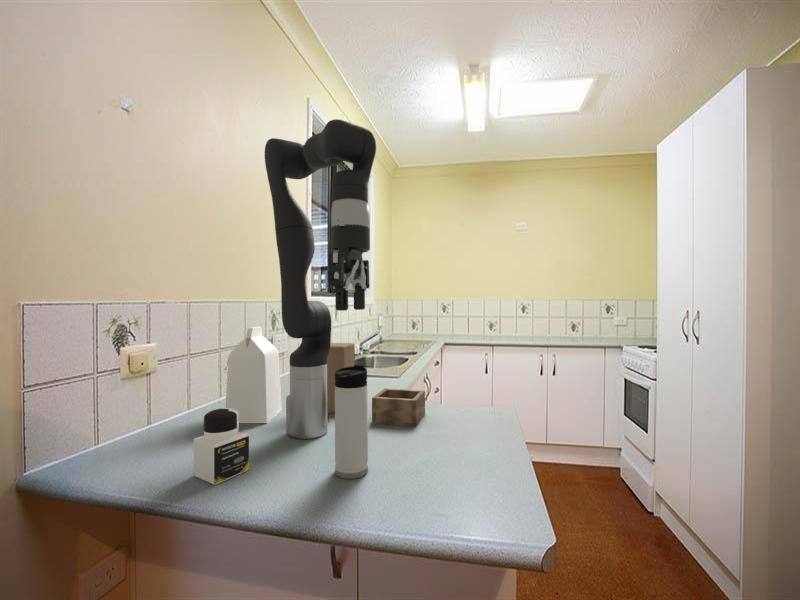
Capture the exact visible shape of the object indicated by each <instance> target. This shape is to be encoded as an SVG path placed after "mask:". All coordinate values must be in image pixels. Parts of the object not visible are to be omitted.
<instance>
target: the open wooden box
mask: <svg viewBox="0 0 800 600" xmlns="http://www.w3.org/2000/svg"><path fill="white" fill-rule="evenodd" d="M424 414H425V415H426V391H425V390H423V389H422V390H421V389H420V390H419V389H404V388H403V389H401V388H400V389H399V388H383V389H382V390H381V391H379V392H378V393H376V394H375V395H373V396H372V397H371V423H372V424H381V425H382V424H384V425H395V426H408V427H417V426H418V425H419V424H418V423H420V422H421V421H422V419H423V418H424V416H425V415H424ZM423 415H424V416H423ZM422 417H423V418H422ZM420 420H421V421H420Z"/></svg>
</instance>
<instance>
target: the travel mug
mask: <svg viewBox="0 0 800 600" xmlns="http://www.w3.org/2000/svg"><path fill="white" fill-rule="evenodd" d="M367 380H368V369H367V368H366V367H365V366H364V365H362V364H355V365H354V366H353V367H345V368H341V369H339V370H337V371H336V372H335V381H336V382H335V414H334V463H335V465H334V469H335V470H334V473H335V476H337V477H338V478H341V479H344V480H354V479H359V478H362V477H364V476H365V475H366V474H367V473H368V471H369V444H368V443H369V437H368V435H369V432H368V431H369V430H368V429H369V426H368V424H369V423H368V420H369V418H368V412H369V410H368V405H369V404H368V403H369V402H368V381H367Z"/></svg>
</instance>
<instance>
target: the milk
mask: <svg viewBox="0 0 800 600" xmlns="http://www.w3.org/2000/svg"><path fill="white" fill-rule="evenodd" d="M246 331H247V332H246V336H245V338H243V339H242V340H241V341H239V343H238V345H237V346H236V347H235V348H233V350H232V351H231V352H230V353H229V354H228V358H227V369H226V371H227V372H226V393H225V394H226V395H225V408H232V409H235V410H237V411H238V412H239V423H267V424H268V423H270V420H271V419H272V418H273V417H274V416H275V417H276V416H278V415H279V414H280V413H281V412H282V411H283V410H282V408H283V407H282V391H281V389H282V388H281V374H280V373H281V372H280V358H279V350H278V349H277V348H276V347H275V345H274V344H272V343H271V342H270V341H269V340H268V338H266V337H265V336H263V332H262V331H263V330H262V326H253V327H247V330H246ZM281 410H282V411H281ZM280 411H281V412H280ZM279 412H280V413H279ZM278 413H279V414H278ZM277 414H278V415H277ZM275 417H274V418H275ZM274 418H273V419H274ZM273 419H272V420H273ZM272 420H271V421H272Z"/></svg>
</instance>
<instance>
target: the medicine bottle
mask: <svg viewBox="0 0 800 600" xmlns="http://www.w3.org/2000/svg"><path fill="white" fill-rule="evenodd" d="M239 430H240V424H239V412H238V411H237V410H235V409H232V408H226V407H223V408H215V409H213V410H210V411H209V412H207V413H205V414H204V416H203V435H201V436H198V437H195V438H193V477H196V478H198V479H200V480H202V481H204V482H207V483H208V484H211V485H214V486H217V485H219V484H221V483H224V482H225V481H227V480H230V479H232V478H234V477H237V476H239V475H241V474H244V473H245V472H248V471H249V470H250V435H249V434H248V433H245V432H242V431H239Z"/></svg>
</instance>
